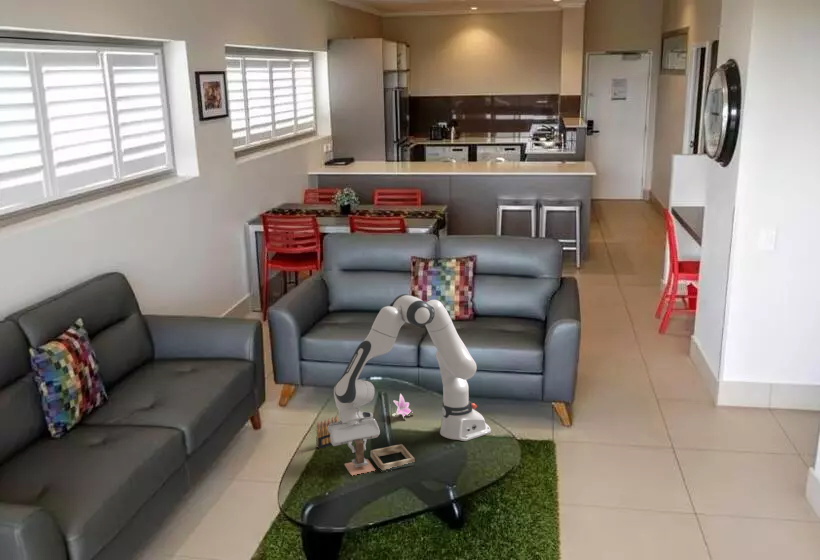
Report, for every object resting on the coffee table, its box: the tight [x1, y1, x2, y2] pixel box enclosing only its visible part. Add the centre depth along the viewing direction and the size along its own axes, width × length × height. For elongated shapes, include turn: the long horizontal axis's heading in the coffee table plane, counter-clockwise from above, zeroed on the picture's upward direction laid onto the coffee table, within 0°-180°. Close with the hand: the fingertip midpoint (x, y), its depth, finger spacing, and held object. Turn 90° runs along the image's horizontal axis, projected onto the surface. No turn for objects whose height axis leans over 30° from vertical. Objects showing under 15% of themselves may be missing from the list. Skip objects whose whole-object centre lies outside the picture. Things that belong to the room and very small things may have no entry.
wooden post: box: [351, 439, 368, 467], centre depth 298 cm, size 5×5×10 cm
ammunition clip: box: [315, 416, 339, 449], centre depth 318 cm, size 11×2×12 cm, turn 126°
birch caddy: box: [370, 443, 416, 471], centre depth 304 cm, size 14×14×3 cm
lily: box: [393, 393, 412, 418], centre depth 345 cm, size 12×12×10 cm
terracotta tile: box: [344, 458, 376, 477], centre depth 299 cm, size 10×10×1 cm
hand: (359, 451), depth 298 cm, fingers closed on wooden post, 2 cm apart
